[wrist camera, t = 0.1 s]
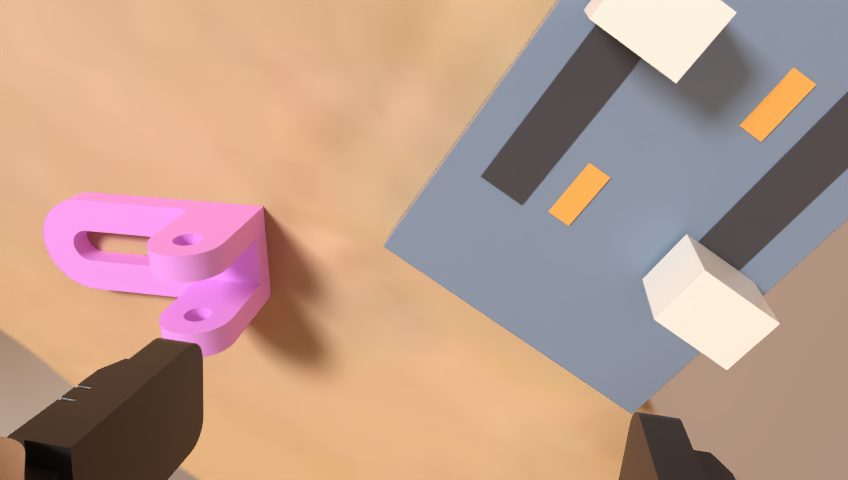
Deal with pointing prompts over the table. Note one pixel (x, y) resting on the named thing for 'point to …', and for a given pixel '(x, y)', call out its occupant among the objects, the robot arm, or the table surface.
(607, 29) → the tab
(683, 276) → the tab
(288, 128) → the table surface
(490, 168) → the switch bank
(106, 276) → the bracket
